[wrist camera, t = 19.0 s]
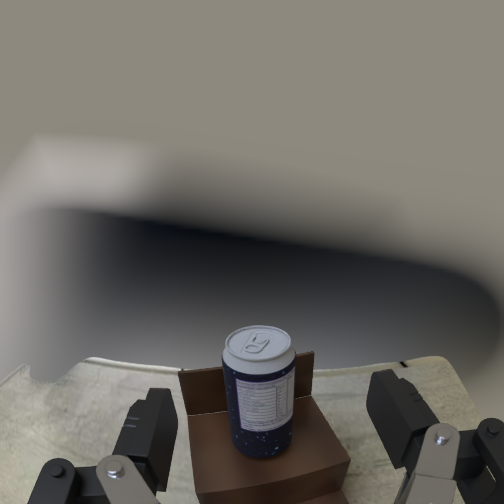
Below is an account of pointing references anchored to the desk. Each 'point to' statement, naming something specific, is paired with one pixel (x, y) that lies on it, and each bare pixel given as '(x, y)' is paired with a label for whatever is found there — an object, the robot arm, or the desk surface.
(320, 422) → the wooden stair steps
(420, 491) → the robot arm
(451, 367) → the desk surface
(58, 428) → the desk surface
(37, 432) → the desk surface
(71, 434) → the desk surface
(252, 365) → the beverage can
